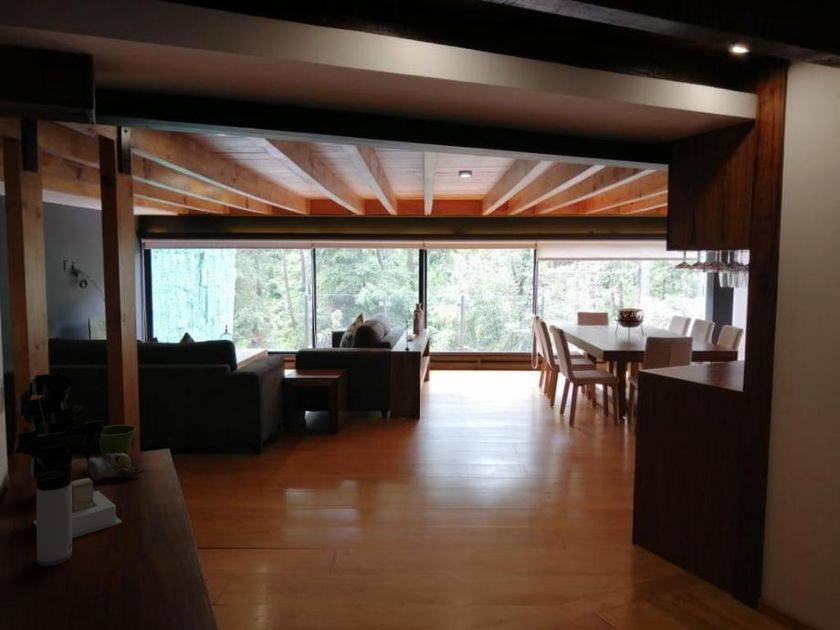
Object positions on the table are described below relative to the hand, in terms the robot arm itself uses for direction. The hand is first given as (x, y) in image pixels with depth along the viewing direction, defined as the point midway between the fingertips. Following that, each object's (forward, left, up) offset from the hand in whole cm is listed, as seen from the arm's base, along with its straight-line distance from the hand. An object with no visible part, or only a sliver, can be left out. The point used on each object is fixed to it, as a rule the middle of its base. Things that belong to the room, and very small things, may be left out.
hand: (67, 463), depth 131 cm
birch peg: (+7, +3, -13) cm, 15 cm away
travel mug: (+23, -3, -14) cm, 27 cm away
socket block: (+7, +2, -14) cm, 15 cm away
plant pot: (-35, +15, -14) cm, 41 cm away
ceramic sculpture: (-22, +13, -14) cm, 29 cm away
